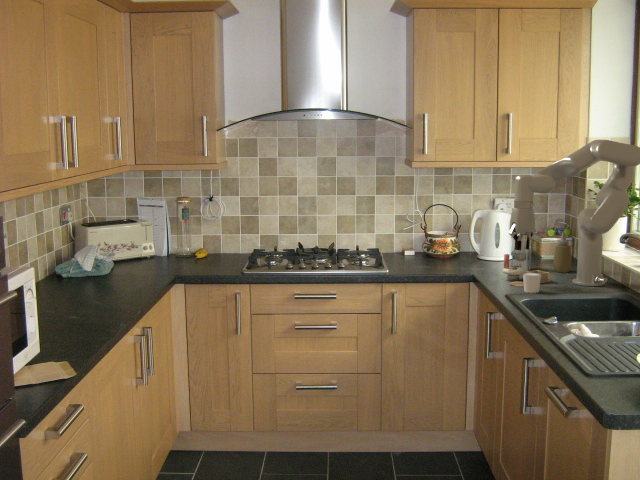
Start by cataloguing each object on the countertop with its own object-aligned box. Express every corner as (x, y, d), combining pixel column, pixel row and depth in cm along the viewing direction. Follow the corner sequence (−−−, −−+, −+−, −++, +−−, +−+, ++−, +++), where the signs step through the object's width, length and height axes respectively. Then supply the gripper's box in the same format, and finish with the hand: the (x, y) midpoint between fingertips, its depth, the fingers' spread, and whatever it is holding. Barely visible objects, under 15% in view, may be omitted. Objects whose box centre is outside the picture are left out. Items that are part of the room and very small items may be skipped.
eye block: (549, 281, 305) (549, 272, 304) (537, 283, 302) (537, 274, 301) (537, 279, 311) (537, 270, 310) (525, 280, 308) (525, 271, 307)
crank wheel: (519, 275, 302) (519, 257, 301) (499, 273, 308) (499, 255, 307) (527, 272, 309) (528, 254, 308) (508, 269, 315) (508, 252, 314)
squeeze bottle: (572, 273, 322) (574, 234, 319) (553, 273, 323) (555, 233, 321) (570, 270, 330) (571, 231, 327) (551, 269, 331) (553, 231, 329)
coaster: (537, 285, 298) (537, 284, 297) (520, 288, 293) (520, 286, 293) (521, 281, 305) (521, 280, 305) (505, 284, 301) (505, 282, 301)
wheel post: (521, 280, 308) (522, 273, 308) (513, 281, 306) (513, 274, 305) (513, 278, 312) (513, 271, 312) (504, 279, 310) (505, 273, 310)
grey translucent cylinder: (524, 261, 296) (527, 235, 294) (515, 260, 297) (518, 234, 295) (524, 259, 300) (527, 233, 297) (515, 258, 301) (517, 232, 298)
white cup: (531, 288, 292) (532, 271, 291) (544, 291, 286) (544, 274, 285) (518, 290, 289) (519, 273, 288) (531, 293, 283) (532, 276, 282)
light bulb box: (527, 273, 325) (528, 249, 323) (512, 272, 328) (512, 248, 326) (531, 268, 334) (531, 246, 333) (516, 268, 337) (516, 245, 336)
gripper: (532, 203, 302) (530, 246, 304) (501, 205, 294) (500, 249, 297) (545, 205, 295) (543, 249, 298) (514, 207, 287) (513, 252, 290)
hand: (521, 249), depth 297 cm, fingers closed on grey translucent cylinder, 3 cm apart
